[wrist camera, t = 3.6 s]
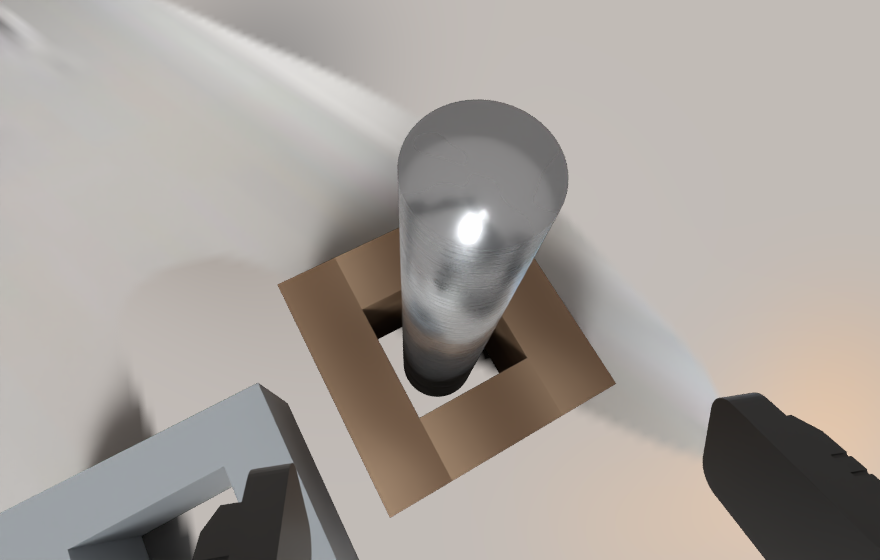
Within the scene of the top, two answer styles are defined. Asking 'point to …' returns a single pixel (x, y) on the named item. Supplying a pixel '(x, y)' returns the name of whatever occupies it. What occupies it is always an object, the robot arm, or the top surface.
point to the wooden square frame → (460, 420)
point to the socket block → (172, 486)
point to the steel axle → (469, 230)
